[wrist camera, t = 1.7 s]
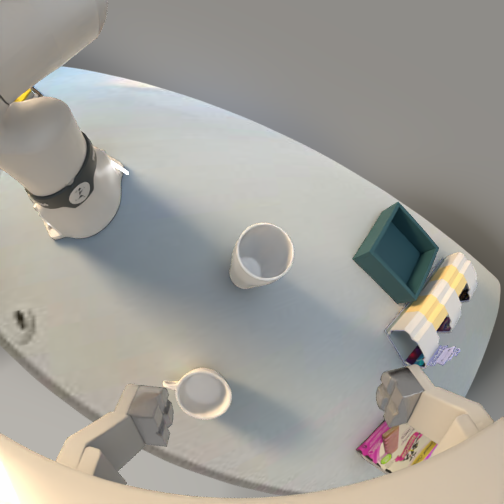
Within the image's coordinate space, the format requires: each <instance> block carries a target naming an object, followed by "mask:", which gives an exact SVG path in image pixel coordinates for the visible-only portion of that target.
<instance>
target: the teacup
mask: <svg viewBox="0 0 504 504" xmlns="http://www.w3.org/2000/svg"><path fill="white" fill-rule="evenodd" d="M163 386H164V387H166V388H169V389H172V390H174V391H176V399H177V402H178V404H179V406H180V408H181V409H182V410H183V411H184V412H185V413H187V414H188V415H190V416H192V417H194V418H197V419H203V420H208V419H214V418H217V417H219V416H221V415H222V414H224V413H225V412H226V411H227V409H228V408H229V406H230V404H231V400H232V393H231V389H230V387H229V385H228V383H227V382H226V380H225V379H224V378H223V377H222V376H221V374H219V373H218V372H217V371H215V370H212V369H207V368H196V369H193V370H192V371H190V372H189V373H187V374H185V375H184V376H183V377H182V378H181V380H180V381H164V382H163Z"/></svg>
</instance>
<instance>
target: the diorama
mask: <svg viewBox="0 0 504 504" xmlns="http://www.w3.org/2000/svg"><path fill="white" fill-rule="evenodd" d="M476 278H477V273H476V271H475V269H474V267H473V265H472V262H471V261H469V260H467V259H466V257H465V255H464V254H462V253H461V252H458V253H455V254H452V255H449V256H447V257H446V259H445V260H444V259H443V258H442V260H441V261H440V262H439V264H438V265H437V267H436V268H435V269H434V271H433V272H432V274H431V275H430V276H429V278H428V279H427V280H426V282H425V283H424V285H423V287H422V290H421V292H420V294H419V296H418V298H417V300H416V301H412V302H409V303H408V304H407V305H406V307H405V308H404V309H403V310H402V311H401V312H400V314H399V315H398V316H397V317H396V318H395V319H394V321H393V322H392V323H391V324H390V325H389V326H388V327H387V328H386V329H385V332H386V334H387V335H388V337H389V339H390V340H391V342H392V344H393V345H394V347H395V349H396V350H397V352H398V354H399V355H400V357H401V359H402V360H403V362H404V364H405V366H407V364H408V365H409V366H410V365H413V364H417V365H419V367H420V368H422V369H426V367H427V366H428V365H430V366H433V365H432V364H434V363H433V362H435V361H436V359H437V358H438V359H437V361H436V362H435V364H436V363H438V364H440V365H444V364H445V363H446V361H448V360H451V359H452V357H453V356H454V354H455V353H456V354H455V356H457V355H458V354H457V353H459V352H460V349H458V348H457V349H455V348H456V346H454V347H451V348H447V347H448V345H447V346H446V345H445V346H443V348H442V345H439V343H438V341H439V340H440V338H439V336H438V334H437V333H451V331H452V330H453V328H454V327H455V325H456V324H457V322H458V320H459V319H460V317H461V314H462V311H461V309H460V307H461V306H462V304H461V303H464V302H469V301H470V299H471V297H472V296H473V294H474V292H475V290H476V288H477V284H478V283H477V280H476ZM447 315H448V316H449V317H447ZM440 347H441V348H440ZM444 347H445V348H444ZM439 349H442V350H444V351H442V350H441V351H440V350H439ZM454 349H455V351H456V350H457V351H458V350H459V351H458V352H454ZM449 350H450V351H449ZM438 351H440V353H439V354H438ZM441 353H442V354H441ZM440 354H441V355H440ZM451 354H453V355H452V356H451ZM435 355H438V356H436V358H435ZM439 356H440V357H439ZM450 356H451V358H450V359H449V357H450ZM434 358H435V360H434V361H433V359H434ZM442 360H443V361H442ZM431 362H432V364H431ZM429 363H430V364H429ZM435 364H434V366H435Z"/></svg>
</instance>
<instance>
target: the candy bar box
mask: <svg viewBox="0 0 504 504" xmlns="http://www.w3.org/2000/svg"><path fill="white" fill-rule="evenodd" d="M437 445H438V444H436V443H435V442H433V441H432V440H430V439H429V438H427V437H426V436H424V435H423V434H421V433H420V432H418V431H417V430H415V429H414V428H413V427H411V426H410V425H408V424H407V423H405V424H401V425H398V426H394V427H390V428H389V427H388V425H387V423H386V421H384V422H383V423H382V424H381V425H380V426H379V427H378V428H377V429H376V430H375V431H374V432H373V433H372V435H371V436H370V437H369V438H368V439H367V440H366V441H365V442H364V443H363V444H361V446H359V447H358V448H357V449H356V450H357V451H358V452H359V454H360V455H361V456H362V457H363V458H364V459H365V460H366V461H368V462H369V463H370V464H372V465H373V466H375V467H376V468H378V469H379V470H381V471H382V472H384V473H385V474H389V473H392V472H395V471H398V470H401V469H403V468H406V467H409V466H411V465H414V464H416V463H419V462H421V461H424V460H426V459H428V458H430V457H431V453H432V452H433V450H434V449H435V448H436V446H437Z"/></svg>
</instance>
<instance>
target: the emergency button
mask: <svg viewBox="0 0 504 504" xmlns="http://www.w3.org/2000/svg"><path fill="white" fill-rule="evenodd" d="M37 97H39V95H38V94H34V93H33V92H32V91H31V89H28V90H27V91H26V92H25V93H23V94H22V95H21V96H20V97H18V98H17V99H16V100H15V101H14V102H21V101H26V100H29V99H33V98H37Z"/></svg>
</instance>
